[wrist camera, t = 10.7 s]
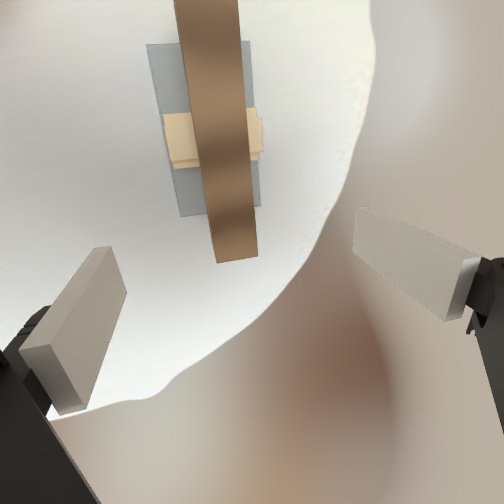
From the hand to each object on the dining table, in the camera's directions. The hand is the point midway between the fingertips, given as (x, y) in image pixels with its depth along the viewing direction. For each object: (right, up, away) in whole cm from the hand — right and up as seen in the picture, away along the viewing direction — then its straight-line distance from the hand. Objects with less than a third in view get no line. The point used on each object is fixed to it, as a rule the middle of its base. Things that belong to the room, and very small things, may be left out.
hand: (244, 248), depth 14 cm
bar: (-3, +10, +11) cm, 15 cm away
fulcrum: (-4, +13, +16) cm, 21 cm away
